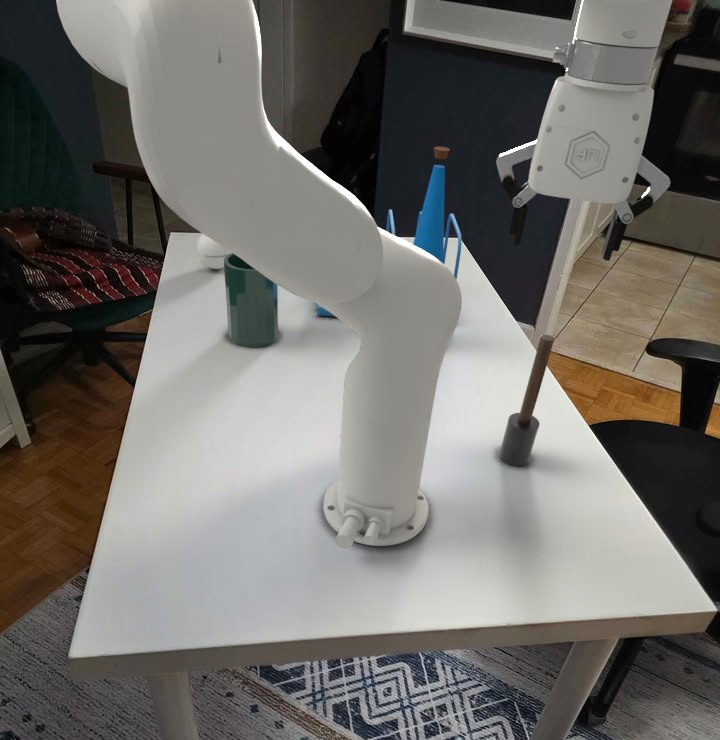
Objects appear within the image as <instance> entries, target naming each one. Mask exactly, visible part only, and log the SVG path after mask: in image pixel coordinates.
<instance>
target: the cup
mask: <svg viewBox="0 0 720 740" xmlns="http://www.w3.org/2000/svg"><path fill="white" fill-rule="evenodd" d="M223 269H224V285H225V301H226V312H227V313H226V314H227V330H228V337H229V340H230V341H231V342H232V343H233V344H235V345H238V346H240V347H241V346H242V347H245V348H262V347H266V346H269V345H272V344H273V343H275V342H276V341H277V340H278V338H279V308H278V307H279V306H278V305H279V303H278V302H279V301H278V300H279V299H278V297H279V294H278V292H279V291H278V290H279V289H278V285H277V284H275V283H274V282H272V281H271V280H270V279H268V278H267V277H265V276H264V275H263V274H261V273H260V272H258V271H257V270H256V269H254V268H253V267H252V266H250V265H249V264H247V263H246V262H245V261H244V260H242V259H241V258H239V257H238V256H236V255H235V254H233V253H231V254H229V255H227V256H226V257H225V258H224V268H223Z"/></svg>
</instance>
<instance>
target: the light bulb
mask: <svg viewBox="0 0 720 740" xmlns="http://www.w3.org/2000/svg"><path fill="white" fill-rule="evenodd" d="M195 249H196V254H197V257H198V259H199V261H200V263H202V264H203V265H204V266H206V267H207V268H209V269H213V270H220V269H224V258H225V257H226V256H227V255H229V254H231V253H232V252H230V251H229V250H228V249H226V248H225V247H223V246H222V245H220V244H218V243H217V242H215V241H214V240H212V239H211V238H209V237H207V236H206V235H204V234H203V233H201V235H200V236H199V238H198V239H197V242H196V248H195Z"/></svg>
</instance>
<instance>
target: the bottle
mask: <svg viewBox="0 0 720 740" xmlns="http://www.w3.org/2000/svg"><path fill="white" fill-rule="evenodd" d="M433 150H434V151H433V152H434V158H435V159H439V160H445V159H447V158H448V155H449V153H450V148H448V147H446V146H435V147H433ZM445 178H446V167H445V165H441V164H434V165H433V168H432V171H431V175H430V178H429V182H428V185H427V186H428V187H427V190H426V194H425V198H424V202H423V205H422V208H421V212H422V213H421V216H420V220H419V224H418V228H417V227H416V231H417V232H416V231H415V237H414V240H413V243H412V245H414V246H416V247H418V248H420V249H422V250H424V251H426V252H427V253H429V254H431V255H432V256H434V257H435V258H437V259H438V260H439V261H441V262H442V263H443V252H444V243H445V185H446V184H445V183H446V181H445V180H446V179H445Z"/></svg>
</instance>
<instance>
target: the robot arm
mask: <svg viewBox="0 0 720 740" xmlns="http://www.w3.org/2000/svg"><path fill="white" fill-rule="evenodd" d="M55 1H56V8H57V13H58V16H59V19H60V22H61V25H62V28H63V30H64V32H65V34H66V35H67V38H68V39H69V41H70V43H71V45H72V46H73V47H74V49H75V50H76V51H77V53H78V54H79V56H80V57H81V58H82V59H83V60H84V61H85V62H87V63H88V64H89V65H90V66H91V67H92V68H93V69H94V70H95V71H97V73H100V74H101V75H103V76H104V77H106V78H107V79H109V80H111V81H113V82H115V83H117V84H119V85H121V86H123V87H125V88H126V89H127V93H128V100H129V107H130V116H131V123H132V128H133V129H132V130H133V134H134V140H135V143H136V144H135V145H136V147H137V150H138V153H139V156H140V158H141V162H142V165H143V167H144V169H145V172H146V174H147V175H146V176H148V179H149V181H150V182H151V185H152V186H153V188H154V190H155V192H156V194H157V195H158V196H159V198H160V199H161V200H162V201H163V203H164V204H165V205H166V206H167V207H168V208H169V209H170V210H171V211H172V212H173V213H175V214H176V215H177V216H178V217H179V218H180V219H182V221H184V222H185V223H187V224H188V225H189V226H190V227H192V228H194V229H195V230H196V231H198V232H199V233H201V234H204V235H206V236H207V237H209V238H211V239H212V240H214V241H215V242H217V243H218V244H220V245H222V246H223V247H225V248H226V249H228V250H229V251H230V252H232V253H233V254H235V255H236V256H238V257H239V258H241V259H242V260H244V261H245V262H246V263H247V264H249V265H250V266H252V267H253V268H254V269H256V270H257V271H258V272H260V273H261V274H263V275H264V276H265V277H267V278H268V279H270V280H271V281H272V282H274V283H275V284H277V287H280V288H282V289H283V290H285V291H287V292H289V293H291V294H292V295H294V296H297V297H299V298H302V299H304V300H307V301H310V302H313V303H315V304H316V305H317V306H318V305H320V306H321V307H323V308H324V309H326V310H327V311H329V312H330V313H332V314H333V315H334V316H333V317H336V318H337V319H338V320H340V321H342V322H343V323H344V324H345V325H346V326H347V327H348V328H350V329H351V330H353V331H354V332H355V333H356V334H357V335H358V336H359V340H360V347H359V350H358V352H357V353H356V355H355V356H354V358H353V359H352V360H351V362H350V363H349V365H348V367H347V369H346V371H345V375H344V380H343V390H342V408H341V409H342V410H341V424H340V425H341V427H340V439H339V440H340V441H339V442H340V443H339V455H338V456H339V457H338V459H339V460H338V473H337V474H338V475H337V479H336V480H334V481H333V482H332V483H331V484H330V485H329V487H327V489H326V491H325V493H324V496H323V508H322V509H323V514H324V517H325V519H326V521H327V523H328V524H329V525H330V527H331V528H332V529H333V530H334V531H335V532H336V533H337V535H336V537H335V543H336V545H338V546H339V547H340V548H342V549H350V548H352V546H353V545H354V542H355V543H358V544H362V545H366V546H372V547H373V546H374V547H385V546H386V547H387V546H394V545H399V544H402V543H405V542H407V541H410V540H411V539H413V538H415V537H416V536H417V535H418V534H420V532H422V531H423V529H424V528H425V526H426V524H427V521H428V519H429V518H428V517H429V510H430V507H429V502H428V500H427V497H426V495H425V494H424V492H423V491H422V489H421V488H420V487H421V480H422V473H423V468H424V463H425V457H426V450H427V445H428V444H427V443H428V440H429V439H428V438H429V437H428V436H429V433H430V428H431V427H430V426H431V420H432V415H433V414H432V413H433V408H434V402H435V397H436V393H437V386H438V381H439V377H440V373H441V368H442V365H443V362H444V359H445V356H446V352H447V351H448V347H449V345H450V342H451V339H452V337H453V335H454V333H455V330H456V327H457V325H458V322H459V319H460V315H461V311H462V302H463V301H462V299H463V298H462V297H463V296H462V291H461V288H460V285H459V283H458V281H457V280H456V278H455V277H454V273H453V272H452V271H451V270H450V268H449V267H448V266H447V265H445V264H443V263H442V262H441V261H439V260H438V259H437V258H435V257H434V256H432V255H431V254H429V253H427V252H426V251H424V250H422V249H420V248H418V247H416V246H414V245H413V243H411V242H408V241H407V240H405V239H403V238H400V237H398V236H396V235H395V236H394V235H392V233H390V232H389V233H388V232H386V230H385V229H382V228H381V227H379V226H378V225H377V223H376V221H375V219H374V218H373V216H372V215H371V213H370V212H369V210H368V209H367V207H366V206H365V205H364V204H363V203H362V202H361V201H360V200H359V199H358V198H357V197H356V195H354V194H353V193H352V192H351V191H349V190H348V189H347V188H345V187H343V186H342V185H341V184H339V183H337V182H336V181H334V180H332V179H331V178H330V177H329V176H327V175H326V174H325V173H324V172H323V171H322V170H320V169H318V167H317V166H315V165H314V164H313V163H311V162H310V161H309V160H308V159H306V158H305V157H304V156H302V154H300V153H299V152H298V151H297V150H295V148H293V146H292V145H290V143H288V142H287V140H285V138H283V137H282V136H281V135H280V134H279V133H278V132H277V131H276V130H275V129H274V128H273V126H272V125H271V123H270V122H269V120H268V117H267V114H266V112H265V107H264V100H263V95H262V94H263V91H262V39H261V31H260V24H259V19H258V14H257V12H256V8H255V4H254V1H253V0H55ZM672 3H673V0H581V4H580V8H579V13H578V16H577V22H576V26H575V29H574V35H573V40H572V42H570V41H569V43H568V44H563V45H557V44H556V45H555V48H554V52H553V57H552V63H556V64H557V63H558V64H559V65H560V66H563V69H566V70H565V74H564V76H559V77H557V78H556V80H555V81H554V84H553V86H552V89H551V92H550V94H549V97H548V98H547V99H548V100H547V103H546V106H545V109H544V111H543V112H544V113H543V116H542V119H541V123H540V126H539V130H538V135H537V138H536V140H534V141H531V142H528V143H525V144H523V145H521V146H518V147H515V148H513V149H510V150H508V151H506V152H502V153H500V154H499V155H498V156H497V158H496V160H495V164H496V167H497V171H498V175H499V178H500V181H501V186H502V188H503V190H504V191H505V194H506V195H507V196H508V197H509V199H510V201H511V203H512V206H513V207H514V208H513V212H512V217H511V222H510V226H509V231H508V235H509V236H514V237H513V244H512V246H513V247H518V246H520V245H521V241H522V238H523V233H524V228H525V223H526V220H527V219H526V218H527V215H528V210H529V206H530V203H529V201H530V200H531V199H533V198H534V197H535V196H536V195H537V194H541V195H544V196H549V197H556V198H561V199H568V200H569V199H570V200H575V201H584V202H590V203H598V204H607V205H613V207H614V209H615V211H616V213H615V214H614V215H612V217H611V220H610V224H609V227H608V230H607V233H606V237H605V240H604V243H603V246H602V250H601V252H602V254H601V255H602V259H603V260H604V261H607V262H609V261H610V260H611V258H612V256H613V255H612V254H613V252H619V251H620V248H621V245H622V243H623V239H624V236H625V234H626V233H625V232H626V229H627V226H628V224H630V223H631V222H632V221H633V220H634V219H635V218H637V217H638V216H640V215H642V214H643V213H644V212H646V211H648V210H649V209H651V208H652V207H653V205H654V203H656V201H657V200H659V198H660V197H661V196H663V194H664V193H665V192H666V191H667V190H668V189H669V188H670V187H671V184H672V183H671V179H670V177H669V176H668V175H667V174H666V173H664V172H663V171H662V170H661V169H660V168H658V167H657V166H656V165H655V164H654V163H653V162H651V161H649V160H648V159H647V158H646V157H645V156H643V150H644V146H645V142H646V138H647V134H648V129H649V126H650V121H651V116H652V110H653V104H654V96H655V89H653V87H651V86H648V82H649V79H650V77H651V73H652V70H653V66H654V63H655V59H656V56H657V54H658V49H659V47H660V43H661V41H662V36H663V33H664V29H665V28H666V27H665V26H666V23H667V19H668V16H669V14H670V10H671V6H672ZM530 159H531V162H530V166H529V167H530V168H529V172H528V180H527V181H526V182H525V183H523V184H522V185H521V184H520V183H519V181H518V180H517V177H515V175H514V172H513V166H514V165H516V164H518V163H519V164H520V163H521V162H524V161H527V160H530ZM637 174H638V175H640V176H641V177H642V178H644V179H645V180H646V181H647V182H648V183H649V185H650V186H648V188H647V190H646V191H645V192H644V193H642V194H640V195H639V196H637V197H636V198H634V199H632V200H631V201H630V200H629V195H630V194H631V191H632V189H633V186H634V183H635V180H636V176H637Z"/></svg>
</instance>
